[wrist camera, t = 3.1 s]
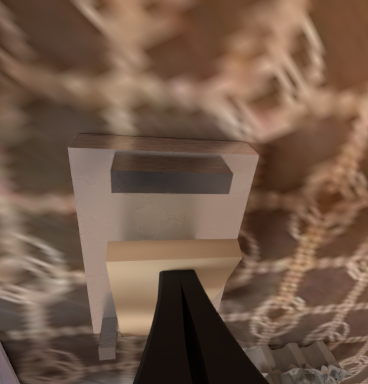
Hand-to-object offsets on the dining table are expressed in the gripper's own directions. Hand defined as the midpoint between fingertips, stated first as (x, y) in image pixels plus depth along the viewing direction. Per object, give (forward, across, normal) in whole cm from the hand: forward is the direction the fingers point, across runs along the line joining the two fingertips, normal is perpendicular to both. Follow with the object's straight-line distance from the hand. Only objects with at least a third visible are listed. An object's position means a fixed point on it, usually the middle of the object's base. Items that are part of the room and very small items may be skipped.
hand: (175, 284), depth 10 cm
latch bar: (+2, 0, +3) cm, 4 cm away
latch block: (+6, 0, +3) cm, 7 cm away
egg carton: (+6, -15, +21) cm, 27 cm away
